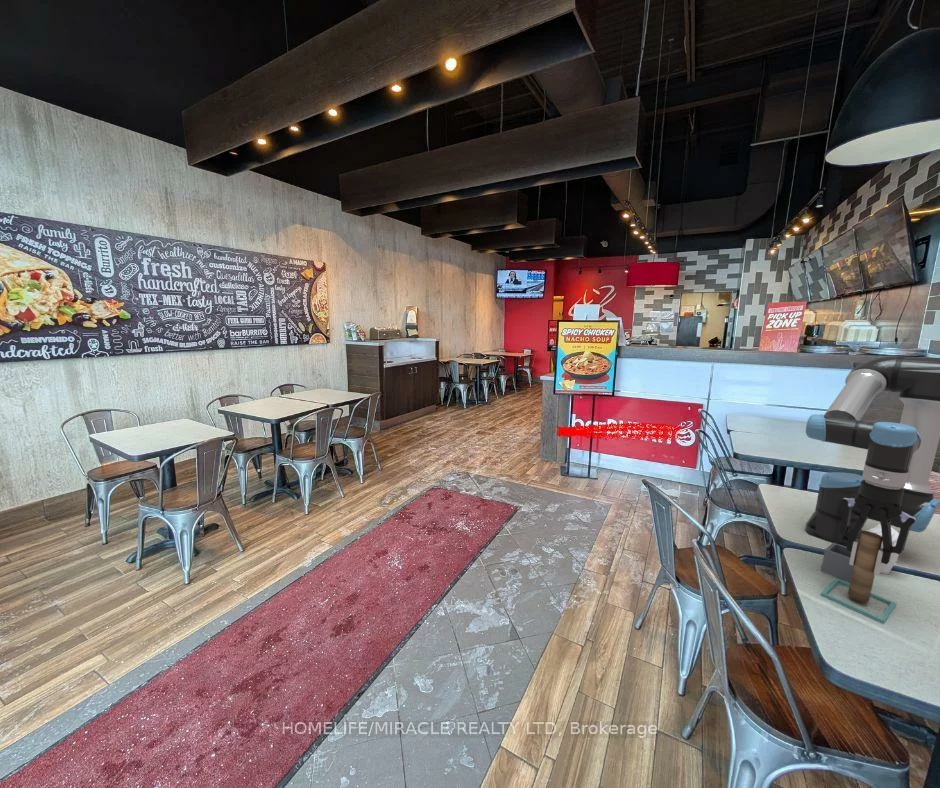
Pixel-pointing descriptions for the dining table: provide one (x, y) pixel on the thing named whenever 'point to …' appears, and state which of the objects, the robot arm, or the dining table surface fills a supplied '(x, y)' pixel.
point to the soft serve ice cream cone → (894, 556)
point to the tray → (878, 619)
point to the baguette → (864, 566)
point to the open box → (837, 562)
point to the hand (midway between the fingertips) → (864, 567)
